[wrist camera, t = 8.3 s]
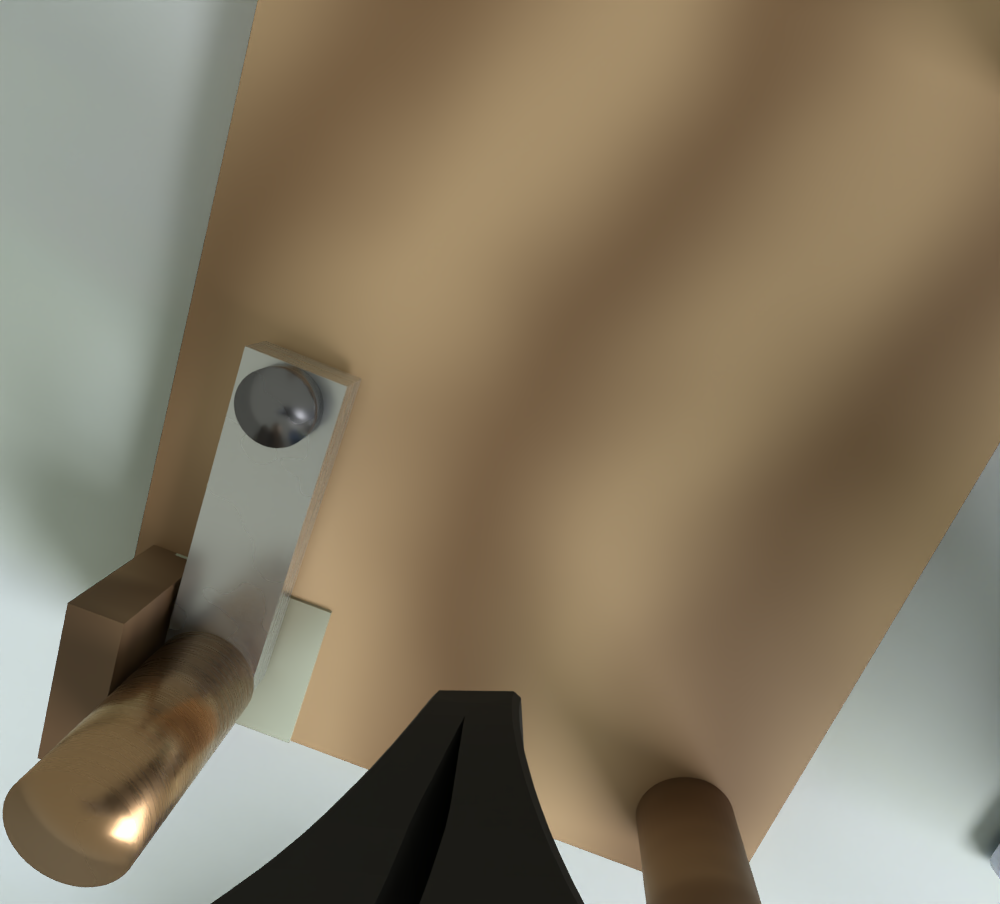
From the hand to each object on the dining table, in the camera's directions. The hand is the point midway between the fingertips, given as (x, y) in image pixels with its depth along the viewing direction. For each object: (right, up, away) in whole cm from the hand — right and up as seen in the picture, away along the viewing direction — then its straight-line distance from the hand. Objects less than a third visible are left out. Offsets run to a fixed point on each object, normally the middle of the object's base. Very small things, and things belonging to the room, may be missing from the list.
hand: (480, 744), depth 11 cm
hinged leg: (-5, +3, +5) cm, 8 cm away
